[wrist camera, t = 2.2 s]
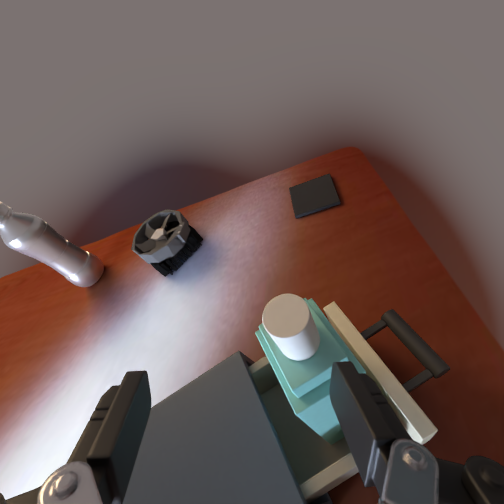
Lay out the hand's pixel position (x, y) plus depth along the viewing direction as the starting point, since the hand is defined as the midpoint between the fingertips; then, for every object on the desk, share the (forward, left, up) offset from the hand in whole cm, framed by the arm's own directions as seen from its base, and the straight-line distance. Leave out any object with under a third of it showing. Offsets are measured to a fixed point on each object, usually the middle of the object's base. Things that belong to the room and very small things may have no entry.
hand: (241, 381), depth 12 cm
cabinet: (+5, +8, -20) cm, 23 cm away
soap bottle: (0, -2, -18) cm, 18 cm away
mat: (+18, -27, -20) cm, 38 cm away
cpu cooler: (+36, -8, -20) cm, 42 cm away
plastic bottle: (+50, +5, -20) cm, 55 cm away
